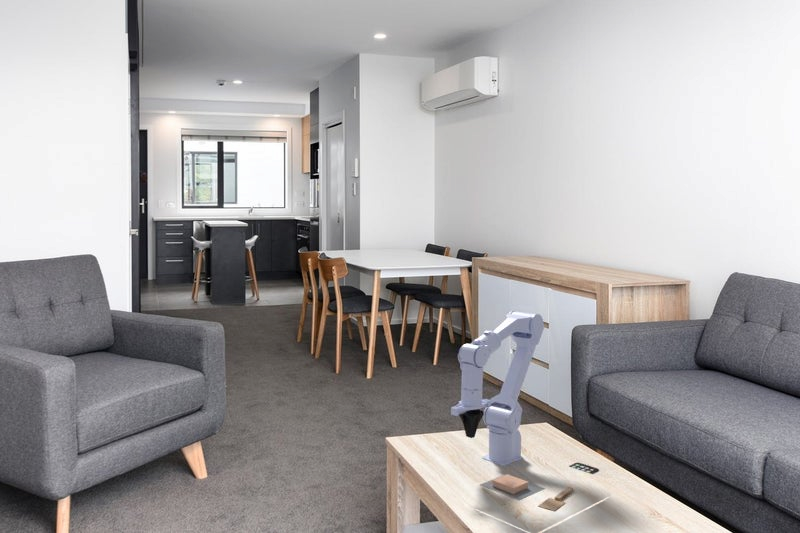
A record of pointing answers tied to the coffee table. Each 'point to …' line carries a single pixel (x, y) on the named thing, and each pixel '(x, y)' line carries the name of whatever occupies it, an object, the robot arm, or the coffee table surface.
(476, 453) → the coffee table surface
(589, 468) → the smartphone
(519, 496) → the mat
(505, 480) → the tile
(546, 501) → the walnut turner
